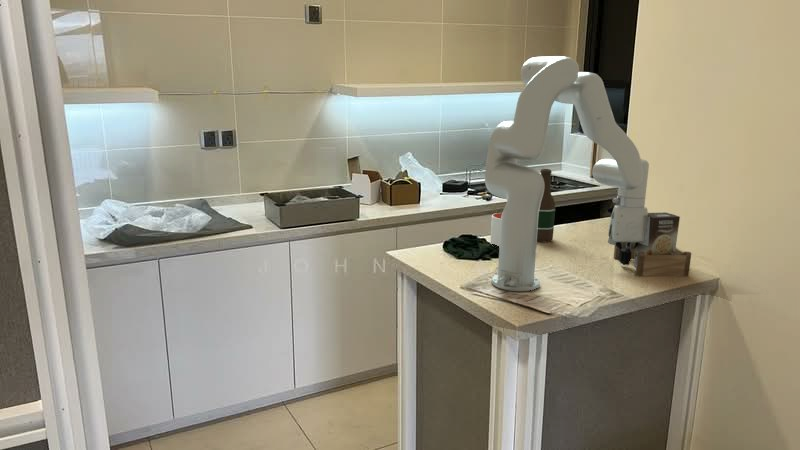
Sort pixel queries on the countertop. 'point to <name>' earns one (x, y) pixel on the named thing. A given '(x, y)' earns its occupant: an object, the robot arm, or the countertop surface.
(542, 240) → the beer bottle
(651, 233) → the coffee box
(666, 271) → the crate
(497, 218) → the cup
